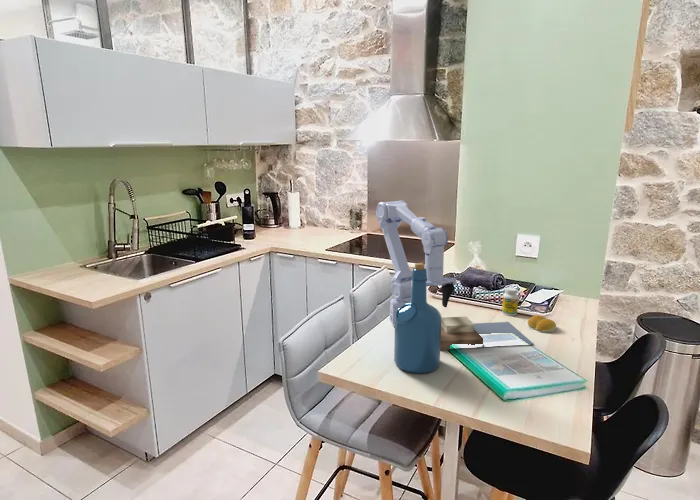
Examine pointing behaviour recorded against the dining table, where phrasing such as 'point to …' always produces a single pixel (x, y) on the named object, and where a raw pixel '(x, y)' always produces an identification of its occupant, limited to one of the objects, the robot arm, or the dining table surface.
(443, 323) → the tile
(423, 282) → the wine bottle
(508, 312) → the supplement bottle
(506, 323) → the mat
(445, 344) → the board
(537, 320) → the bread roll
